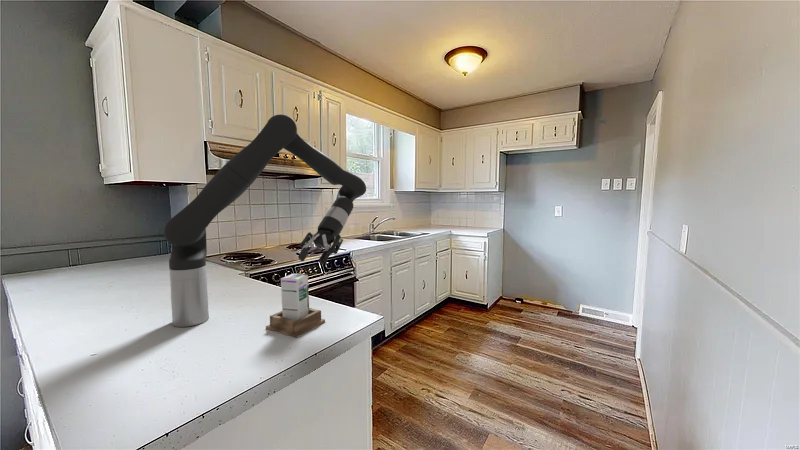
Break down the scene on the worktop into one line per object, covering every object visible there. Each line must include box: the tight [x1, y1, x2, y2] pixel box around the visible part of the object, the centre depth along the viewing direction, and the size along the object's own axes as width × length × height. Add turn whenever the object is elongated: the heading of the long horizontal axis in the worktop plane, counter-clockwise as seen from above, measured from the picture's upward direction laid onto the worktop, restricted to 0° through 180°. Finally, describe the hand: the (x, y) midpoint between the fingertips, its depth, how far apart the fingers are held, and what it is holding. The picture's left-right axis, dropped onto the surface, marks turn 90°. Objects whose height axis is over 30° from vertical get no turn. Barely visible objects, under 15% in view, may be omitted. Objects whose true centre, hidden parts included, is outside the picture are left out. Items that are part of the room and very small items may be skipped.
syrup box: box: [280, 273, 310, 321], centre depth 92 cm, size 6×6×14 cm
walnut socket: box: [265, 307, 326, 339], centre depth 92 cm, size 12×12×4 cm
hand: (310, 261), depth 96 cm, fingers open, 8 cm apart
